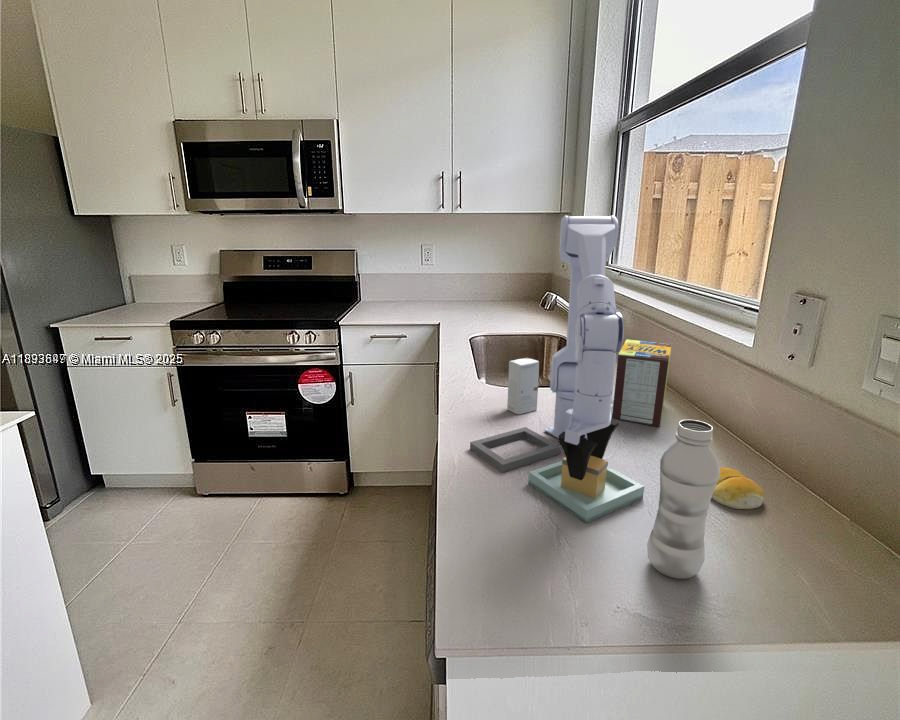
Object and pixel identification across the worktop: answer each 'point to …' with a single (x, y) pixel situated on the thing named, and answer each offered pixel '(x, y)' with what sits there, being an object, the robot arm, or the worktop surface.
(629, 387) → the protein box
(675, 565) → the plastic bottle
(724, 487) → the bread roll
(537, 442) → the grey rectangular frame
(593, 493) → the tan box
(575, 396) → the robot arm
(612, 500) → the parts tray
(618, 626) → the worktop surface
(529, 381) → the skincare box
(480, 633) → the worktop surface
